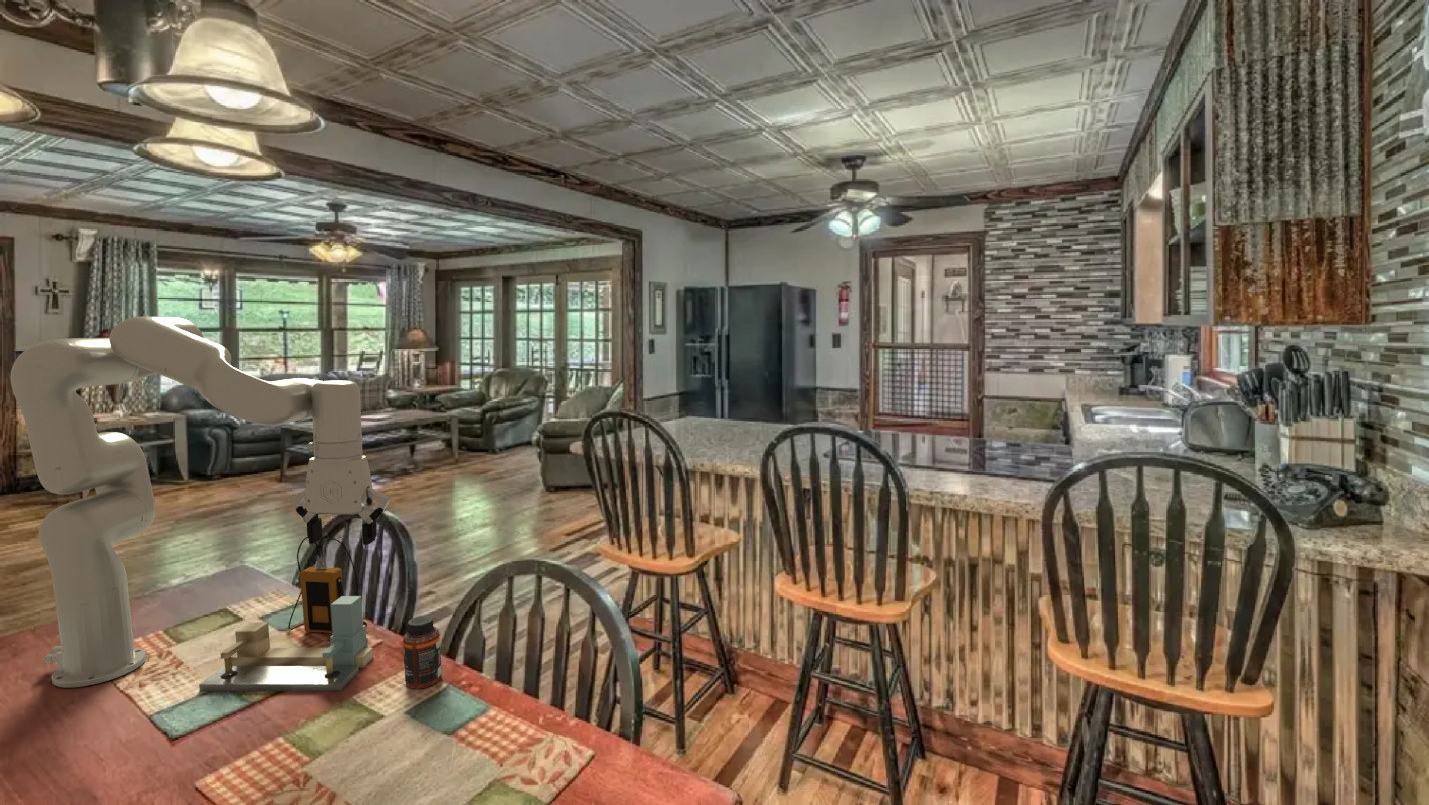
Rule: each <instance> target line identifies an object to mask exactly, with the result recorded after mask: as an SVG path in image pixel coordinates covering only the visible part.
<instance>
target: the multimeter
mask: <svg viewBox="0 0 1429 805" xmlns="http://www.w3.org/2000/svg"><path fill="white" fill-rule="evenodd" d="M306 539H309V538H308V537H307V536H306V537H304V538H303V539H302V541H300V544H299V545H298V549H297V552H296V562H297V567H298V571H299V575H300V589H301V590H300V593H299V595H298V598H297V600H296V603H295V605H294V608H293V610H292V612H291V615H290V618H289V621H288V626H287V627H288V630H289V629H291V628H292V627H291V622H292V619H293V616H294V613H295V610H296V608H297V606H298V603H299V601H300V598H301V604H302V605H301V606H302V614H303V615H302V616H303V623H304V624H303V626H304V627H303V628H304V631H305V632H306V633H309V632H311V633H321V632H324V634H325V633H327V634H332V633H333V628H332V613H331V604H332V603H333V602H335V601H336V600H337V599H339V598H340V597H341V596H345V595H344V594H345V592H344V584H343V582H344V581H343V569H342V568H340V567H326V562H325V557H324V548H323V546H324V544H325V542H327V541H335V542H338V543H339V544H340V545H341V546H342V547H343V549H344V550H345V553H347V555H348V558H349V560H350V562H351V566H352V570H353V573H354V577H355V583H356V584H355V586H356V589H355V590H356V595H355V596H359V589H358V588H359V582H358V578H357V572H356V567H355V565H354V563H353V560H352V558H351V555H350V552H349V551H348V550H347V548H346V546H345V545H344V544H343V543H342V542H341V541H340V540H339V539H336V538H326V539H325V540H324V541H322V542H321V547H320V548H321V551H320V552H321V561H320V556H319V549H318V548H319V547H318V544H317V542H316V543H314V544H315V546H316V566H310V567H307V568H306V569H304V570H301V566H300V561H299V559H300V558H299V555H300V554H299V553H300V549H301V547H302V544H303V543H304V542H305V540H306ZM363 624H364V625H366V627H367V626H368V624H367V622H366V621H365V619H363ZM291 630H292V629H291Z"/></svg>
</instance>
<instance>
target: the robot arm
mask: <svg viewBox="0 0 1429 805" xmlns="http://www.w3.org/2000/svg"><path fill="white" fill-rule="evenodd" d="M156 374H157V375H160V376H163V377H165V378H168V379H170V380H173V381H176V382H177V383H180V384H182V385H185V386H187V387H189V388H191V389H195V390H196V391H198V393H199V395H200V396H201V397H202V398H204V399H205V400H206V401H207V402H208V403H209V404H210V405H211V406H213V407H215V408H216V409H218V410H219V411H222V412H224V413H225V414H228V415H230V416H231V415H232V416H234V417H237V418H239V419H241V420H244V421H246V422H249V423H252V424H255V425H260V426H264V427H279V426H283V425H286V424H289V423H293V422H299V421H303V420H308V419H312V433H313V434H312V435H313V441H312V442H309V443H307V446H306V448H307V451H312V452H313V453H312V454H313V457H311V458H309V460H308V464H307V469H306V476H305V477H306V478H305V490H302V491H301V492H299V493H297V494H295V495H293V496H291V497H290V499H289V500H290V501H291V503H292V505H293V507H294V508H295V512H296V513H297V514H298V515H299V516H300V517H301V518H302V521H303V522H304V523H306V537H308V538H307V539H308V544H309V545H314V544H315V543H317V542H319V541H322V539H323V520H322V517H319V516H320V515H335V516H336V515H339V516H341V515H344V516H345V515H347V516H349V515H351V516H352V515H357V514H358V515H359V516H360V518H361V519H363V521H364V523H362V525H361V528H362V529H361V530H362V544H363V545H364V546H369V545H370V544H371V543H373V542H375V540H376V538H377V536H378V532H377V530H378V526H377V525H378V524H377V520H379V518H380V517H381V516H382V515H383V514H384V513H385V512H386V511H387V507H388V506H389V504H390V502H391V497H390V496H387V495H386V494H384V493H382V492H380V491H378V490H376V489H374V488H373V484H372V481H373V480H372V477H371V472H370V471H371V470H370V466H369V462H368V459H367V456H366V455H363V436H362V434H363V433H362V410H361V408H362V406H361V390H360V386H359V384H358V383H356V382H355V381H351V380H339V379H338V380H324V381H323V380H317V379H310V378H304V377H303V378H302V377H301V378H299V377H298V378H288V379H280V380H273V381H267V380H264V379H261V378H259V377H256V376H254V375H252V374H249V373H246V372H244V371H241V370H240V369H238V368H236V367H234V366H233V365H232V354H231V352H230V350H229V349H228V348H227V347H225V346H224V345H222V344H219V343H216V342H214V341H211V340H208V339H207V338H205V337H204V335H203V333H202V331H201V329H200V328H198V326H196V324H194V323H192V322H191V321H190V320H187V319H184V318H181V317H177V316H144V315H143V316H134V317H131V318H127V319H124V320H121V321H119V323H117V324H116V325H114V327H113V328H112V329H111V331H110V334H109V337H91V338H90V337H88V338H87V337H78V338H77V337H76V338H75V337H73V338H72V337H71V338H70V337H69V338H60V339H53V340H46V341H43V342H39V343H37V344H34V345H31V346H30V347H28V348H26V349H25V350H23V352H22V353H20V354H19V355H18V357H17V358H16V359H15V361H14V362H13V365H12V368H11V370H10V384H11V389H12V392H13V395H14V397H15V400H16V402H17V405H18V407H19V410H20V411H21V414H22V416H23V421H24V424H25V427H26V428H25V429H26V433H27V438H28V442H29V447H30V451H31V455H32V459H33V464H34V468H35V472H36V474H37V478H38V481H39V482H40V484H41V486H42V488H44V489H45V490H46V491H48V492H49V493H51V494H56V495H72V494H76V493H77V494H78V493H81V492H86V491H89V490H93V489H94V490H95V493H96V494H95V495H90V496H86V497H84V498H80V499H77V500H74V501H73V500H72V501H70V502H68V503H65V504H62V505H61V506H58V507H56V508H54V509H53V510H52V511H50V512H48V514H47V515H46V516H45V517H44V518H43V519H42V521H41V523H40V524H39V527H38V539H39V542H40V545H41V548H42V550H43V552H44V554H45V557H46V559H47V562H48V566H49V569H50V570H49V571H50V574H51V582H52V588H53V595H54V601H55V608H56V617H57V619H56V620H57V624H58V634H59V643H60V644H59V645H55V646H53V647H52V648H50V650H49V654H46V655H45V656H44V658H43V663H46V664H47V663H48V664H49V663H50V664H51V663H52V664H53V663H56V667H57V668H56V669H55V670H54V672H53V673H52V674H51V683H52V685H53V686H56V687H58V688H64V689H65V688H66V689H68V688H69V689H70V688H71V689H72V688H83V687H87V686H93V685H97V684H100V683H104V682H105V683H106V682H108V681H111V680H114V679H117V678H119V677H122V676H125V675H127V674H129V673H131V672H133V671H134V670H136V669H138V668H139V667H140V666H142V665H143V664H144V663H145V662H146V660H147V653H146V652H147V651H146V650H145V649H143V648H141V647H135V642H134V634H133V623H132V614H131V612H132V611H131V604H130V596H129V594H130V593H129V586H128V585H129V584H128V578H127V577H128V576H127V571H126V566H125V565H124V562H123V560H122V559H121V558H120V556H119V555H118V554H117V552H116V551H115V550H114V548H113V545H117V544H118V543H120V542H122V541H125V540H127V539H128V540H129V539H130V538H133V537H135V536H138V535H139V534H142V533H143V532H145V531H146V530H147V529H149V527H151V525H152V524H153V522H154V520H155V518H156V517H155V516H156V501H155V497H154V491H153V486H152V482H151V478H150V472H149V467H148V464H147V459H146V456H145V454H144V451H143V450H142V448H141V446H140V445H139V444H138V442H137V441H135V440H134V439H133V438H132V437H131V436H129V435H127V434H124V433H122V432H115V431H105V432H98V430H97V427H96V422H95V417H94V413H93V410H92V409H91V408H90V406H89V405H88V403H87V401H85V399H84V398H83V397H81V395H79V393H77V390H80V389H82V388H89V387H90V388H91V387H101V386H109V385H110V386H111V385H112V386H113V385H122V384H126V383H130V382H136V381H139V380H142V379H145V378H147V377H151V376H153V375H156ZM373 501H376V502H377V503H378V505H377V507H376V508H375V509H374V508H373V503H374V502H373Z"/></svg>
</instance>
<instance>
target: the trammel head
mask: <svg viewBox="0 0 1429 805" xmlns="http://www.w3.org/2000/svg"><path fill="white" fill-rule="evenodd" d="M362 606H363V605H362V595H358V596H356V595H344V596H341V597H340V598H339V599H337V600H336V601H335V602H333V603H332V604H331V613H332V628H333V634H331V636H330V637H329V638H330V639H329V641H330V642H329V643H330V646H329V647H327V648H328V649H326V650H325V651H324V652H323V658H326V669H327V674H330V673H332V672H333V666H355V661H354V656H355V655H356V654H357V653H358V652H359V651H360V650H361V649H362V648H369V642H368V637H367V626H366V625H365V624H364V623H363V620H364V618H363V607H362Z"/></svg>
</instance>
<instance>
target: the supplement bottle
mask: <svg viewBox="0 0 1429 805" xmlns="http://www.w3.org/2000/svg"><path fill="white" fill-rule="evenodd" d="M433 618H434V617H432V616H430V615H420V616H415V617H413V618H411V619H409V620H408V623H407V630H408V631H407V632H406V633H405V634H404V635H403V637H402V638H403V639H402V644H403V646H402V647H403V651H402V652H403V662H404V664H403V666H404V680H405V681H404V682H405V685H406V686H407V687H408V688H410V689H411V688H412V689H425V688H428V687H431V686H434V685H435V684H437V683H438V682H439V681H440V680H441V679H442V675H443V674H442V671H443V670H442V657H441V655H442V654H441V652H442V650H441V637H440V636H441V634H440V630H439V629H438V628H437V627H436V626H434V619H433Z"/></svg>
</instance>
